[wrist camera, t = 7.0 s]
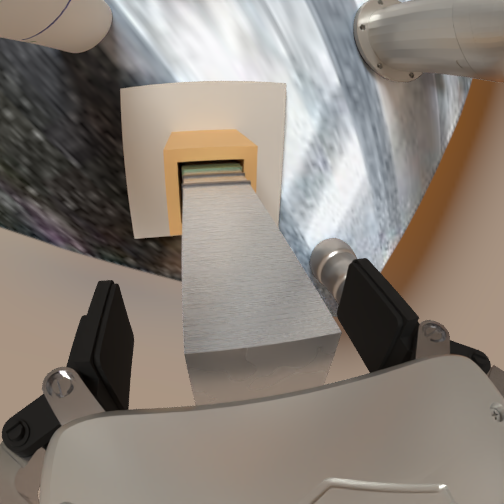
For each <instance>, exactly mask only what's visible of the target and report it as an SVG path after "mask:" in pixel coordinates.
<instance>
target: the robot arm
mask: <svg viewBox="0 0 504 504" xmlns="http://www.w3.org/2000/svg"><path fill="white" fill-rule="evenodd" d="M354 37H355V41H356V44H357V47H358V49H359V51H360V54H361V55H362V57H363V58H364V60H365V61H366V63H367V64H368V65H369V66H370V67H371V68H372V69H373V70H374V71H375V72H376V73H377V74H379V75H380V76H382V77H384V78H386V79H388V80H391V81H396V82H409V81H413V80H415V79H417V78H418V77H419V76H421V75H422V74H423V73H435V74H446V75H454V76H462V77H469V78H476V79H482V80H487V81H494V82H501V83H502V82H503V83H504V0H411V1H407V2H403V3H402V2H400V1H398V0H369V1H367V2H365V3H364V4H363V5H362V6H361V7H360V8H359V9H358V11H357V13H356V16H355V19H354ZM337 316H338V319H339V321H340V323H341V324H342V326H343V328H344V329H345V331H346V333H347V334H348V336H349V338H350V339H351V341H352V343H353V344H354V346H355V348H356V349H357V351H358V353H359V355H360V356H361V358H362V360H363V361H364V363H365V365H366V367H367V368H368V370H369V372H370V373H369V374H365V375H362V376H358V377H354V378H350V379H347V380H343V381H339V382H335V383H331V384H327V385H322V386H318V387H313V388H309V389H304V390H299V391H294V392H289V393H284V394H278V395H273V396H267V397H261V398H254V399H248V400H241V401H233V402H225V403H217V404H207V405H197V406H185V407H172V408H155V409H134V410H128V406H129V391H130V377H131V366H132V356H133V347H134V336H133V332H132V329H131V325H130V322H129V319H128V316H127V312H126V309H125V305H124V302H123V298H122V295H121V291H120V287H119V285H118V284H114V282H113V281H112V280H108V281H99V282H98V284H97V287H96V289H95V292H94V295H93V298H92V301H91V304H90V307H89V310H88V314H87V315H84V316H82V318H81V320H80V323H79V326H78V329H77V332H76V336H75V339H74V342H73V346H72V349H71V352H70V356H69V360H68V363H67V367H60V368H56V369H54V370H52V371H51V372H50V373H48V375H47V376H46V377H45V379H44V381H43V385H42V390H43V393H44V394H43V395H41V396H40V397H39V398H38V399H36V400H35V401H33V402H32V403H30V404H29V405H28V406H26V407H25V408H24V409H22V410H21V411H19V412H18V413H17V414H15V415H14V416H13V417H11V418H10V419H9V420H8V421H7V422H6V423H5V425H4V427H3V430H2V439H3V441H2V443H1V444H0V504H504V371H502V370H501V369H499V368H498V367H496V366H493V367H491V365H490V361H489V359H488V357H487V356H486V355H485V354H484V353H483V352H481V351H479V350H476V349H473V348H470V347H468V346H465V345H462V344H459V343H456V342H454V341H451V340H450V336H449V332H448V331H447V329H446V328H445V327H444V326H443V325H441V324H440V323H438V322H435V321H431V320H427V321H423V322H422V323H421V324H419V323H418V319H419V317H418V316H417V314H416V313H415V312H414V311H413V310H412V308H411V307H410V306H409V305H408V304H407V303H406V301H405V300H404V299H403V298H402V297H401V296H400V295H399V293H398V292H397V291H396V290H395V289H394V288H393V287H392V285H391V284H390V283H389V282H388V281H387V280H386V279H385V278H384V277H383V275H382V274H381V273H380V272H379V271H378V270H377V269H376V268H375V267H374V266H373V264H372V263H371V262H370V261H369V260H368V259H366V258H363V259H354V260H353V261H352V263H350V264H349V266H348V270H347V275H346V279H345V283H344V287H343V291H342V295H341V299H340V303H339V307H338V311H337ZM39 487H40V502H39V499H38V490H39Z"/></svg>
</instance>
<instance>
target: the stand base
mask: <svg viewBox="0 0 504 504" xmlns="http://www.w3.org/2000/svg"><path fill="white" fill-rule="evenodd" d="M120 96H121V121H122V138H123V151H124V162H125V172H126V181H127V190H128V198H129V205H130V212H131V219H132V226H133V232H134V238H135V239H139V238H151V237H163V236H175V235H182V213H183V199H182V184H183V182H182V166H184V164H185V162H189V161H206V160H229V159H234V161H235V162H236V163H239V164H240V165H241V166H242V172H245V178H246V179H247V180H250V181H251V187H252V188H253V190H254V191H255V193H256V194H257V196H258V197H259V199H260V201H261V202H262V204H263V205H264V207H265V208H266V210H267V211H268V213H269V214H270V216H271V218H272V219H273V221H274V222H275V224H276V225H277V227H278V222H279V208H280V193H281V177H282V161H283V143H284V125H285V104H286V83H273V82H252V81H202V82H181V83H167V84H156V85H146V86H137V87H130V88H123V89H120Z"/></svg>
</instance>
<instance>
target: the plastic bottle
mask: <svg viewBox="0 0 504 504" xmlns="http://www.w3.org/2000/svg"><path fill="white" fill-rule="evenodd" d="M354 259H357V257H356V255H355V253H354V252H353V250H352V249H351V247H350V246H349V245H348V244H347V243H345V242H344V241H342V240H340V239H337V238H330V239H326V240H323V241H321V242H320V243H319V244H317V245H316V247H315V248H314V250H313V251H312V254H311V257H310V267H311V270H312V273H313V275H314V276H315V277H316V279H317V280H318V281H319V282H320V283H321V284H323V285H324V286H325V287H326V288H327V289H328V291H329V292H330V293H331V294H332V295H333V297H334V298H335V300H336V302H337V303H338V305H339V303H340V299H341V295H342V291H343V287H344V283H345V279H346V275H347V270H348V266H349V264H350V263H352V261H353V260H354Z"/></svg>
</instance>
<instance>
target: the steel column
mask: <svg viewBox="0 0 504 504" xmlns="http://www.w3.org/2000/svg"><path fill="white" fill-rule="evenodd" d="M182 182H183V184H182V199H183V213H182V304H183V334H184V353H185V359H186V364H187V369H188V373H189V378H190V382H191V387H192V391H193V395H194V400H195V404H196V406H197V405H207V404H217V403H225V402H233V401H241V400H248V399H254V398H261V397H267V396H273V395H278V394H284V393H289V392H294V391H299V390H304V389H309V388H313V387H318V386H322V385H324V383H325V380H326V377H327V375H328V372H329V369H330V366H331V363H332V360H333V357H334V354H335V351H336V348H337V345H338V342H339V339H340V336H341V333H342V332H341V330H340V329H339V327H338V325H337V323H336V322H335V320H334V319H333V317H332V315H331V313H330V312H329V310H328V308H327V307H326V305H325V303H324V302H323V300H322V298H321V297H320V295H319V293H318V292H317V290H316V288H315V287H314V285H313V283H312V282H311V280H310V278H309V277H308V275H307V273H306V272H305V270H304V269H303V267H302V265H301V264H300V262H299V261H298V259H297V257H296V256H295V254H294V252H293V251H292V249H291V248H290V246H289V244H288V243H287V241H286V240H285V238H284V237H283V235H282V233H281V232H280V230H279V229H278V227H277V225H276V224H275V222H274V221H273V219H272V218H271V216H270V214H269V213H268V211H267V210H266V208H265V207H264V205H263V204H262V202H261V201H260V199H259V197H258V196H257V194H256V193H255V191H254V190H253V188H252V187H251V181H250V180H247V179H246V178H245V172H242V166H241V165H240V164H239V163H236V162H235V161H234V159H229V160H206V161H189V162H185V164H184V166H182Z"/></svg>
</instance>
